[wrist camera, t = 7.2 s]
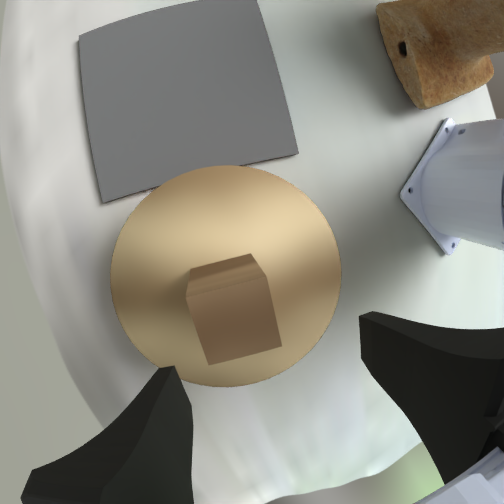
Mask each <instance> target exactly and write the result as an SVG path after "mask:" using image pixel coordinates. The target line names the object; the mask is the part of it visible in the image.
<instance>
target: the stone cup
mask: <svg viewBox="0 0 504 504" xmlns="http://www.w3.org/2000/svg"><path fill="white" fill-rule="evenodd" d="M376 13H377V16H378V19H379V24H380V30H381V34H382V36H383V40H384V44H385V47H386V49H387V54H388V56H389V58H390V59H391V61H392V65H393V67H394V69H395V72H396V74H397V77H398V78H399V80H400V82H401V83H402V84H403V88H404V90H405V91H406V92H407V94H408V95H409V97H410V98H411V100H412V102H413V103H414V104H415V106H416V107H418V108H419V109H424V110H426V109H428V108H431V107H434V106H437V105H440V104H443V103H445V102H448V101H450V100H453V99H455V98H457V97H459V96H460V95H464V94H466V93H468V92H471V91H473V90H475V89H477V88H479V87H481V86H482V85H484V84H486V83H487V82H488V81H489V80H490V79H491V78H492V77H493V74H494V73H493V72H494V69H493V66H492V63H491V60H490V57H489V55H490V54H493V53H498V52H503V51H504V0H398V1H393V2H387V3H380V4H378V5H377V6H376Z"/></svg>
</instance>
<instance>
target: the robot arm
mask: <svg viewBox="0 0 504 504" xmlns="http://www.w3.org/2000/svg"><path fill="white" fill-rule="evenodd" d="M445 130H446V132H445ZM409 188H410V193H409V192H408V189H409ZM400 198H401V200H402V201H403V202H404V203H405V204H406V205H407V207H408V208H409V209H410V210H411V211H412V212H413V214H414V215H415V216H416V217H417V218H418V220H419V221H420V222H421V223H422V224H423V226H424V227H425V228H426V229H427V231H428V232H429V233H430V234H431V236H432V237H433V238H434V239H435V241H436V242H437V243H438V245H439V246H440V247H441V249H442V250H443V251H444V253H445V254H446V255H451V254H452V253H453V252H454V250H455V248H456V247H457V245H458V243H459V241H460V240H461V239H464V240H468V241H471V242H475V243H479V244H482V245H486V246H489V247H493V248H496V249H500V250H503V251H504V119H493V120H486V121H479V122H472V123H465V124H459V125H456V124H455V122H454V121H453V120H452V119H451V118H446V119H445V120H444V122H443V124H442V126H441V127H440V129H439V131H438V133H437V134H436V136H435V138H434V139H433V141H432V143H431V144H430V146H429V148H428V149H427V151H426V153H425V154H424V156H423V158H422V159H421V161H420V162H419V164H418V166H417V167H416V169H415V170H414V172H413V173H412V175H411V177H410V178H409V180H408V181H407V183H406V184H405V186H404V187H403V189H402V190H401V193H400ZM451 245H452V246H451ZM359 327H360V344H361V359H362V360H363V362H364V364H365V365H366V367H367V369H368V370H369V372H370V373H371V375H372V376H373V378H374V379H375V380H376V381H377V382H378V383H379V385H380V386H381V387H382V388H383V389H384V390H385V392H386V393H387V394H388V395H389V396H390V397H391V398H392V399H393V401H394V402H395V403H396V404H397V405H398V406H399V407H400V409H401V410H402V411H403V412H404V414H405V415H406V416H407V418H408V419H409V421H410V422H411V424H412V425H413V427H414V428H415V430H416V431H417V433H418V434H419V436H420V438H421V440H422V441H423V443H424V445H425V446H426V448H427V450H428V452H429V453H430V455H431V457H432V459H433V461H434V463H435V465H436V467H437V469H438V471H439V473H440V475H441V477H442V480H443V482H444V484H445V485H444V486H443V487H441V488H440V489H438V490H436V491H435V492H433V493H431V494H430V495H428V496H426V497H424V498H423V499H421V500H419V501H417V502H415V503H414V504H504V328H496V329H455V328H445V327H438V326H433V325H428V324H423V323H418V322H414V321H410V320H406V319H402V318H399V317H395V316H391V315H387V314H383V313H379V312H373V311H372V312H369V313H366V314H363V315H360V316H359ZM192 446H193V417H192V406H191V403H190V401H189V399H188V396H187V394H186V392H185V389H184V387H183V385H182V382H181V380H180V378H179V375H178V373H177V370H176V368H175V365H173V366H168V367H163V368H159V369H158V370H157V371H156V372H155V374H154V375H153V376H152V377H151V379H150V380H149V381H148V383H147V384H146V385H145V386H144V388H143V389H142V390H141V391H140V393H139V394H138V395H137V396H136V398H135V399H134V400H133V401H132V402H131V403H130V404H129V405H128V407H127V408H126V409H125V410H124V411H123V412H122V413H121V414H120V415H119V416H118V417H117V418H116V419H115V420H114V421H113V422H112V423H111V424H110V425H109V426H108V427H107V428H105V429H104V430H103V431H102V432H101V433H100V434H98V435H97V436H95V437H94V438H93V439H91V440H90V441H88V442H87V443H86V444H84V445H83V446H81V447H80V448H78V449H76V450H75V451H73V452H71V453H70V454H68V455H66V456H64V457H62V458H60V459H58V460H56V461H54V462H51V463H49V464H46V465H44V466H42V467H39V468H37V469H34V470H32V471H31V474H30V476H29V478H28V481H27V483H26V485H25V488H24V490H23V493H22V495H21V501H22V503H23V504H194V500H193V491H192V479H191V469H192Z"/></svg>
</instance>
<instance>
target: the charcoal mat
mask: <svg viewBox="0 0 504 504" xmlns="http://www.w3.org/2000/svg"><path fill="white" fill-rule="evenodd" d="M79 49H80V65H81V77H82V87H83V96H84V104H85V112H86V119H87V125H88V132H89V138H90V144H91V149H92V155H93V160H94V165H95V170H96V175H97V179H98V184H99V188H100V193H101V197H102V201H103V203H105V202H108V201H111V200H114V199H118V198H121V197H124V196H127V195H130V194H134V193H137V192H140V191H144V190H147V189H151V188H154V187H158V186H161V185H162V184H164V183H165V182H167V181H169V180H171V179H173V178H175V177H177V176H179V175H181V174H184V173H187V172H190V171H193V170H196V169H200V168H205V167H211V166H223V165H234V166H241V165H246V164H250V163H255V162H260V161H265V160H270V159H275V158H280V157H285V156H290V155H296V154H299V152H298V147H297V143H296V139H295V135H294V130H293V126H292V122H291V118H290V114H289V110H288V106H287V102H286V98H285V95H284V91H283V87H282V83H281V80H280V76H279V72H278V69H277V65H276V62H275V58H274V55H273V51H272V48H271V44H270V41H269V38H268V34H267V31H266V28H265V25H264V22H263V18H262V15H261V12H260V9H259V6H258V3H257V0H199V1H193V2H188V3H183V4H178V5H173V6H169V7H165V8H161V9H157V10H153V11H149V12H145V13H142V14H138V15H135V16H132V17H128V18H125V19H122V20H119V21H116V22H113V23H110V24H108V25H105V26H102V27H99V28H97V29H94V30H92V31H89V32H87V33H84V34H82V35H79Z"/></svg>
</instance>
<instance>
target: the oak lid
mask: <svg viewBox="0 0 504 504" xmlns="http://www.w3.org/2000/svg"><path fill="white" fill-rule="evenodd" d="M110 283H111V293H112V299H113V304H114V307H115V310H116V314H117V317H118V319H119V321H120V323H121V325H122V327H123V329H124V331H125V333H126V334H127V336H128V337H129V339H130V340H131V342H132V343H133V344H134V345H135V347H136V348H137V349H138V350H139V351H140V352H141V353H142V354H143V355H144V356H145V357H146V358H147V359H148V360H149V361H151V362H152V363H153V364H155V365H156V366H157V367H159V368H163V367H168V366H173V365H175V368H176V370H177V373H178V375H179V378H180V379H182V380H185V381H188V382H191V383H195V384H199V385H205V386H212V387H235V386H243V385H248V384H253V383H257V382H260V381H263V380H266V379H269V378H271V377H273V376H275V375H277V374H280V373H281V372H283V371H285V370H286V369H288V368H290V367H291V366H293V365H294V364H295V363H297V362H298V361H299V360H301V359H302V358H303V357H304V356H305V355H306V354H307V353H308V352H309V351H310V350H311V349H312V348H313V347H314V346H315V344H316V343H317V342H318V341H319V339H320V338H321V337H322V335H323V334H324V332H325V330H326V329H327V327H328V325H329V323H330V321H331V319H332V317H333V315H334V312H335V309H336V306H337V302H338V298H339V293H340V288H341V262H340V255H339V251H338V246H337V243H336V240H335V237H334V235H333V232H332V230H331V228H330V226H329V224H328V222H327V220H326V219H325V217H324V216H323V214H322V213H321V211H320V210H319V209H318V207H317V206H316V205H315V204H314V203H313V202H312V201H311V200H310V199H309V198H308V197H307V196H306V195H305V194H304V193H303V192H302V191H300V190H299V189H298V188H296V187H295V186H294V185H292V184H291V183H289V182H287V181H285V180H284V179H282V178H280V177H278V176H276V175H273V174H271V173H268V172H266V171H263V170H259V169H255V168H250V167H244V166H234V165H223V166H211V167H205V168H200V169H196V170H193V171H190V172H187V173H184V174H181V175H179V176H177V177H175V178H173V179H171V180H169V181H167V182H165V183H164V184H162V185H161V186H159V187H158V188H157V189H155V190H154V191H152V192H151V193H150V194H149V195H148V196H147V197H146V198H145V199H144V200H142V201H141V202H140V204H139V205H138V206H137V207H136V208H135V210H134V211H133V212H132V213H131V215H130V216H129V218H128V219H127V221H126V223H125V224H124V226H123V228H122V230H121V232H120V234H119V237H118V239H117V242H116V245H115V248H114V252H113V256H112V262H111V271H110Z"/></svg>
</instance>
